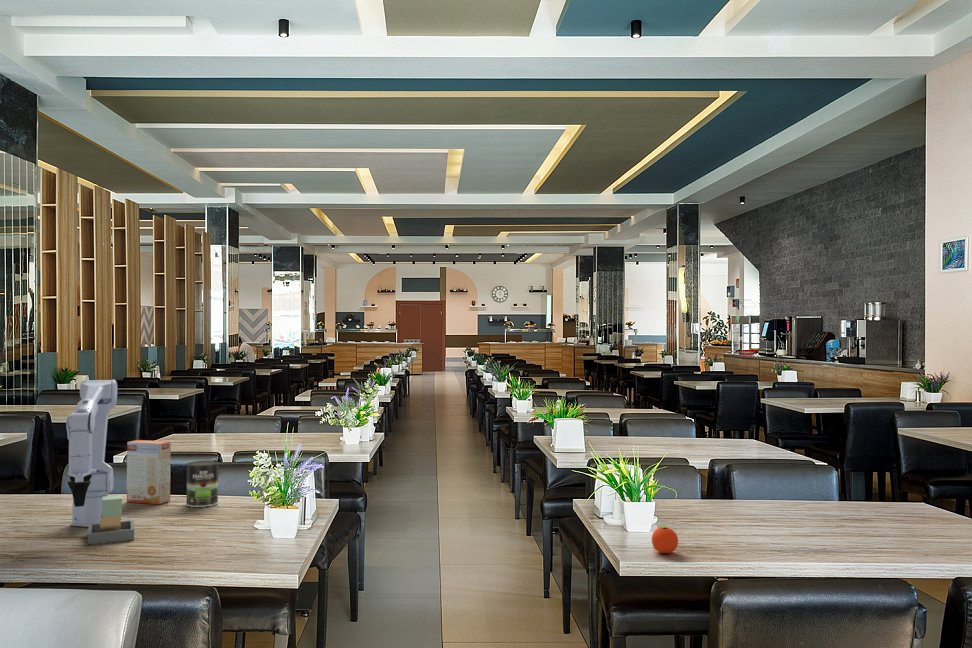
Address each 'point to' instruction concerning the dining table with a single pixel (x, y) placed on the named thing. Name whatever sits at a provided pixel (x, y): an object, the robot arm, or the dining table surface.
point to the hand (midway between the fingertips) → (79, 503)
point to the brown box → (110, 523)
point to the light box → (111, 506)
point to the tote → (111, 533)
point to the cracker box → (148, 471)
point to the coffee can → (202, 483)
